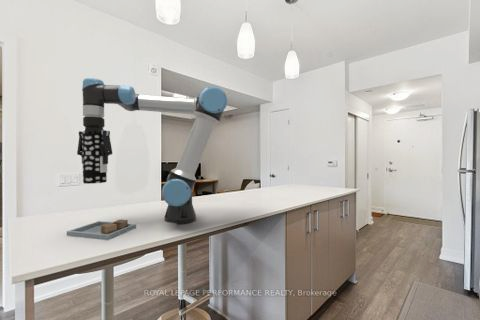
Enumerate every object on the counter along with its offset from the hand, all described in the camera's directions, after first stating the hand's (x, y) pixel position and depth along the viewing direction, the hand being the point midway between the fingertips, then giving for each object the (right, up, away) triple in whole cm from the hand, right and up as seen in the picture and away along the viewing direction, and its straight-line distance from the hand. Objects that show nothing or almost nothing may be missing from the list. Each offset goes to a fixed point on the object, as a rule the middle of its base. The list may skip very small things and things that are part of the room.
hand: (94, 172), depth 98 cm
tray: (+4, -25, 0) cm, 26 cm away
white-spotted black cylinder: (0, -5, 0) cm, 5 cm away
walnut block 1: (+9, -25, -5) cm, 27 cm away
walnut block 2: (+10, -25, +1) cm, 27 cm away
